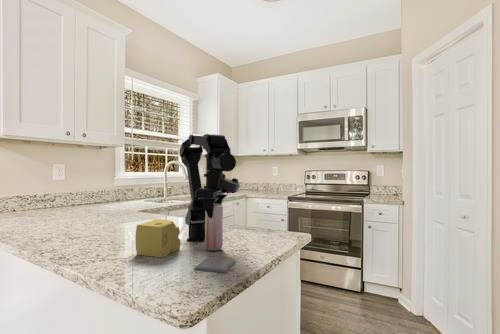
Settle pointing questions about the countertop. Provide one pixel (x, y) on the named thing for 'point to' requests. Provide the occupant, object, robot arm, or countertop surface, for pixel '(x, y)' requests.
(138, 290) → the countertop surface
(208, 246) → the beverage can
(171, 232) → the cheese
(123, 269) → the countertop surface
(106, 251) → the countertop surface
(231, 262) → the slate coaster
